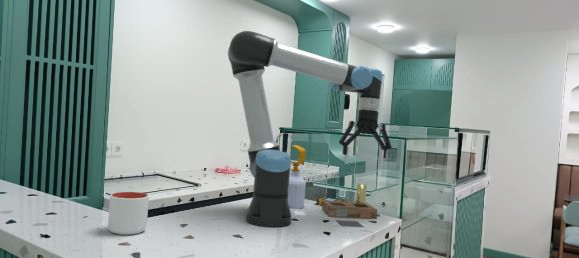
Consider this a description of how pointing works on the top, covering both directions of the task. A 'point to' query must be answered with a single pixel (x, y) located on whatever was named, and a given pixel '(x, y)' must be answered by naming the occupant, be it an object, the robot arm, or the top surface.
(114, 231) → the cup
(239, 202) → the top surface
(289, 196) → the soap bottle
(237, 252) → the top surface
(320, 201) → the electronic device
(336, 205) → the socket block
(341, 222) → the mat
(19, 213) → the top surface
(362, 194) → the yellow tall cylinder
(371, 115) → the robot arm
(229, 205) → the top surface
